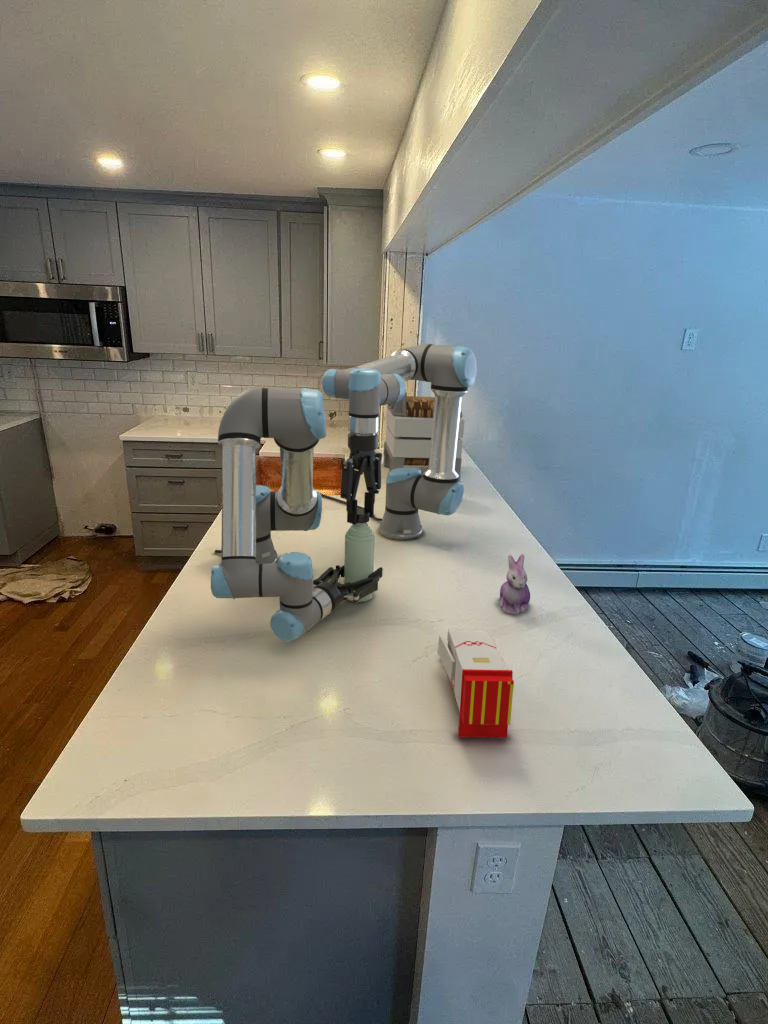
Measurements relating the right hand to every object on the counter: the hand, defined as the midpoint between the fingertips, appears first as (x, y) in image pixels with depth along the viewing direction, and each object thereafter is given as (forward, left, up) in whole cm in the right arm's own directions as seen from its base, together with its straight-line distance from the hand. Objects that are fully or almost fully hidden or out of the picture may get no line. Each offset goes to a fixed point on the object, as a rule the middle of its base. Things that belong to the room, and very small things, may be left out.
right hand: (360, 519), depth 149 cm
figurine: (+30, +30, -22) cm, 48 cm away
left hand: (-2, +4, -16) cm, 17 cm away
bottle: (0, 0, -22) cm, 22 cm away
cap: (0, 0, +2) cm, 2 cm away
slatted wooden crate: (-80, +100, -22) cm, 130 cm away
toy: (+47, -7, -22) cm, 53 cm away
